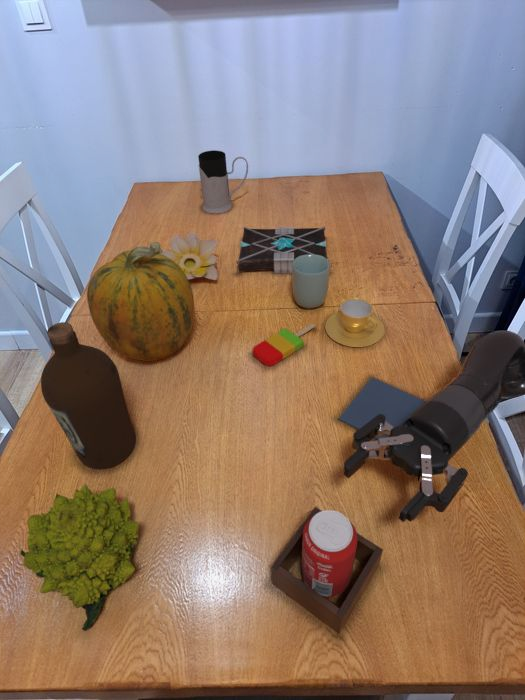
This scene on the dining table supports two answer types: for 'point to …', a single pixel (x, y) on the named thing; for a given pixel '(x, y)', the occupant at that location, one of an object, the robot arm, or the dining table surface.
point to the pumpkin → (142, 303)
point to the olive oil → (87, 400)
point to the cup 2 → (355, 324)
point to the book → (278, 248)
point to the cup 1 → (310, 280)
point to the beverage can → (328, 552)
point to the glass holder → (216, 181)
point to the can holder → (309, 597)
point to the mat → (380, 405)
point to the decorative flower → (193, 256)
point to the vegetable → (83, 547)
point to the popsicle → (279, 346)
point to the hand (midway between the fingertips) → (372, 494)
